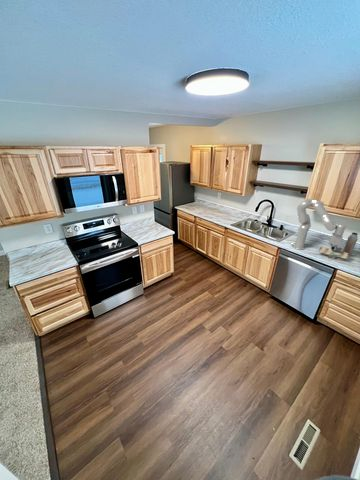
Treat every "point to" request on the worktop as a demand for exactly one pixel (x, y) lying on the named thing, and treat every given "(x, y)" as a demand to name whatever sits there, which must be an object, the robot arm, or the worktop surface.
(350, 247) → the thermos bottle
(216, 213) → the worktop surface
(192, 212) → the worktop surface
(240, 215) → the worktop surface
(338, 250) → the rider
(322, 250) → the beam
